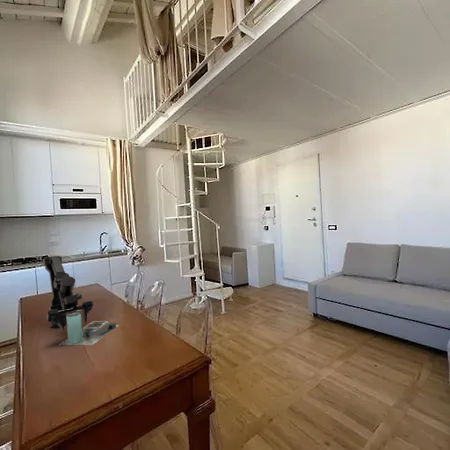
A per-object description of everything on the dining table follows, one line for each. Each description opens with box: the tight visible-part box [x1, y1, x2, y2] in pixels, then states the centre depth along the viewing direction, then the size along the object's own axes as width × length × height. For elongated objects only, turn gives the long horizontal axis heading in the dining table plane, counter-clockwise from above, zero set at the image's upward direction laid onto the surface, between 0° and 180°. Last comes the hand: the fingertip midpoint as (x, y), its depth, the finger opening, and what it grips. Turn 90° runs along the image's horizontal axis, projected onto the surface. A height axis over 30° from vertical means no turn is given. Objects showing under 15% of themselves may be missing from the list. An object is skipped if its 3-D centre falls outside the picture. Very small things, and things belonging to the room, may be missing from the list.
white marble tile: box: [58, 320, 120, 346], centre depth 127 cm, size 17×22×5 cm
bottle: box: [66, 310, 83, 344], centre depth 121 cm, size 6×6×13 cm
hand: (75, 326), depth 120 cm, fingers open, 9 cm apart
